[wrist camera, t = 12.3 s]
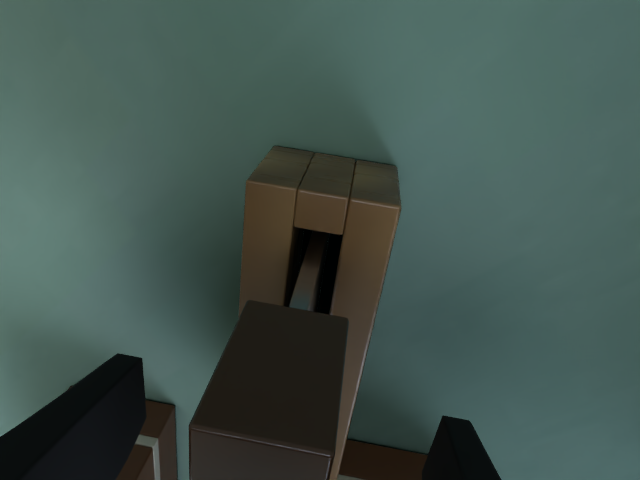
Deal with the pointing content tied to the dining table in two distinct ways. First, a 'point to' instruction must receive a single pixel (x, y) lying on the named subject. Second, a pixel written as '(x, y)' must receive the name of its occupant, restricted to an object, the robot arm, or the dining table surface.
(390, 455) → the chocolate cake
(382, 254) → the knife block
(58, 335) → the dining table surface
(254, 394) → the cake cutter
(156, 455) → the cake slice
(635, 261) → the dining table surface
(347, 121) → the dining table surface
